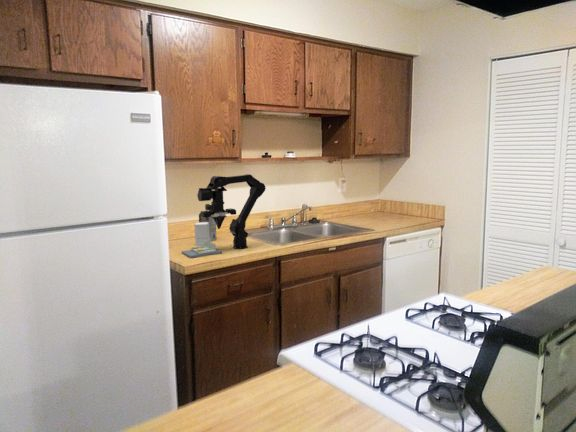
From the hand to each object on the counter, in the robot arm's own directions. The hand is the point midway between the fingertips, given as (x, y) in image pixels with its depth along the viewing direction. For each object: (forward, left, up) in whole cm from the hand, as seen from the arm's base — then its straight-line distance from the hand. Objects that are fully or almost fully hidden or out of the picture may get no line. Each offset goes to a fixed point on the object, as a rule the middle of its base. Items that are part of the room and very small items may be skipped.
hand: (218, 228), depth 226 cm
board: (+10, 0, -12) cm, 16 cm away
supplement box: (+1, -20, -12) cm, 23 cm away
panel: (+10, 0, -11) cm, 14 cm away
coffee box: (-7, -31, -12) cm, 34 cm away
